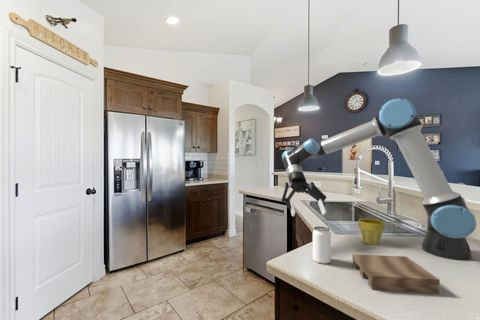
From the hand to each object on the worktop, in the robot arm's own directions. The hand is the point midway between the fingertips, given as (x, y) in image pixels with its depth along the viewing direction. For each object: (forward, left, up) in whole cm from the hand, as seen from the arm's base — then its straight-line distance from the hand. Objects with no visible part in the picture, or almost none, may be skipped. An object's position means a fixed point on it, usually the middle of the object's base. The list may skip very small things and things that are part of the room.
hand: (309, 214), depth 99 cm
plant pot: (-30, -13, -15) cm, 36 cm away
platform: (-22, +21, -15) cm, 34 cm away
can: (-3, +10, -15) cm, 18 cm away
